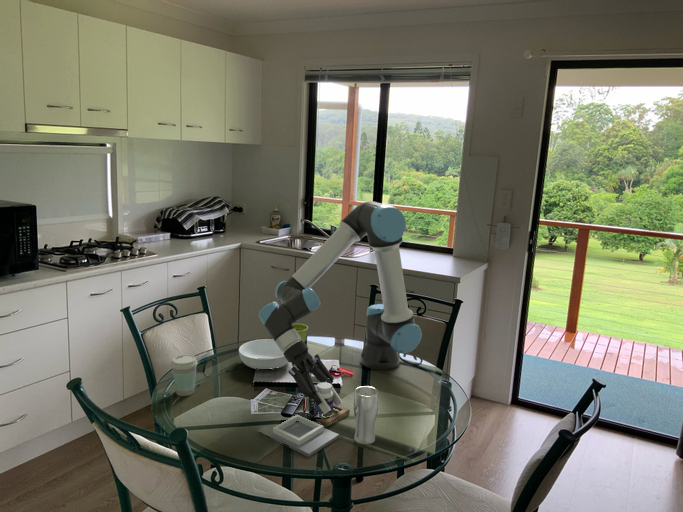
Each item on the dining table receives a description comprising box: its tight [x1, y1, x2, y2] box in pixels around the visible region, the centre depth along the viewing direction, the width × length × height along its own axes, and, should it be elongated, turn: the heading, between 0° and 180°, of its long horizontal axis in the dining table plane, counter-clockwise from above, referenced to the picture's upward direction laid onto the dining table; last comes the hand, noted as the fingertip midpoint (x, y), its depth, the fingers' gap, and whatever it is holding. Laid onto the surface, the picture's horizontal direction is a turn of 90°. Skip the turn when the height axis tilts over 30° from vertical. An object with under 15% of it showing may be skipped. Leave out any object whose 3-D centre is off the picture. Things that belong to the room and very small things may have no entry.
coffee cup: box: [170, 354, 199, 397], centre depth 181 cm, size 9×8×12 cm
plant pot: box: [292, 323, 309, 344], centre depth 224 cm, size 9×9×9 cm
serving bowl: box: [238, 338, 289, 370], centre depth 205 cm, size 21×21×7 cm
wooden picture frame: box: [305, 402, 350, 428], centre depth 170 cm, size 12×12×2 cm
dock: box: [272, 413, 340, 458], centre depth 158 cm, size 13×20×2 cm, turn 52°
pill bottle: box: [315, 382, 334, 417], centre depth 169 cm, size 6×6×10 cm
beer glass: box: [353, 385, 379, 446], centre depth 155 cm, size 7×7×15 cm
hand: (333, 407), depth 167 cm, fingers closed on pill bottle, 6 cm apart
